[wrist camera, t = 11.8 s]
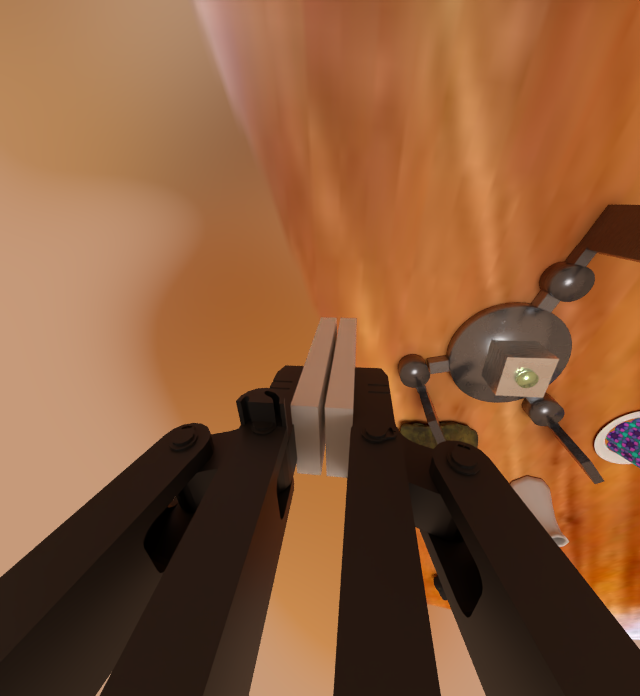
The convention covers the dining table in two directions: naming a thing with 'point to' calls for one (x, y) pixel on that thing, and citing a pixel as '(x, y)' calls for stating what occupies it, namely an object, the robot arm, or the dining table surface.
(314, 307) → the dining table surface
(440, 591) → the tape measure
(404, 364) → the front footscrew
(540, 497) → the flask
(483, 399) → the tribrach
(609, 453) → the pudding
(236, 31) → the dining table surface
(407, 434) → the pottery fragment
